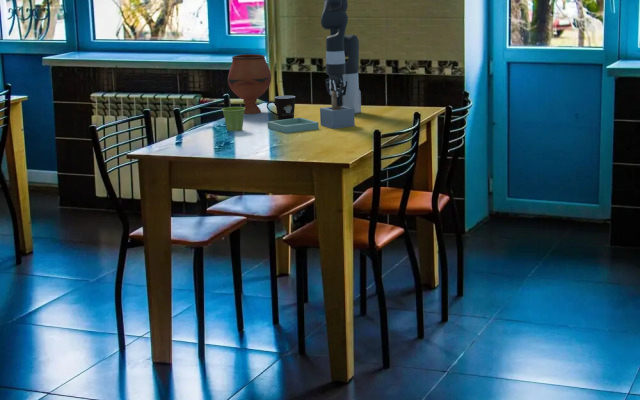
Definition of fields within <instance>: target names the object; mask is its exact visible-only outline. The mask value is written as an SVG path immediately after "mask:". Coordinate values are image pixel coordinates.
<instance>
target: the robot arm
mask: <svg viewBox="0 0 640 400" xmlns="http://www.w3.org/2000/svg"><path fill="white" fill-rule="evenodd" d="M323 2H324V3H323V8H322V13H321V17H320V25H321V27H322V28H323V29H324V30H329V34H330V35H328V36H327V37H326V39H325V43H326V44H325V48H326V53H325V67H326V68H325V69H326V75H328V78H325V80H324V81H325V87H326V90H327V94H329V95H330V103H331V106H332V92H331V91H333V90H335V91H336V95H337V106H345V107H350V108H354V115H355V114H359V113H362V94H361V93H362V92H361V90H360V87H359V85H360V84H359V61H360V60H359V58H360V55H359V54H360V43H359V42H360V41H359V38H358V36H357V35H355V34H345V33H346V31H347V27H348V22H349V21H348V20H349V17H348V13H347V11H348V7H349V6H348V0H323ZM346 57H347V61H346Z"/></svg>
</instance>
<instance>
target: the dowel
mask: <svg viewBox="0 0 640 400" xmlns="http://www.w3.org/2000/svg"><path fill="white" fill-rule="evenodd" d="M331 92H332V105H331V107H332V110H338V109H342V106H337V95H336V91H335V90H333V91H331Z"/></svg>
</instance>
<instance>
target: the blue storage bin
mask: <svg viewBox="0 0 640 400" xmlns="http://www.w3.org/2000/svg"><path fill="white" fill-rule="evenodd" d="M319 117H320V126H321V127H325V128H329V129H332V130H333V129H341V128H348V127H355V126H356V125H355V124H356V123H355V114H354V108H350V107H345V106H342V109H338V110H332V106H328V107H320V108H319Z"/></svg>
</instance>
